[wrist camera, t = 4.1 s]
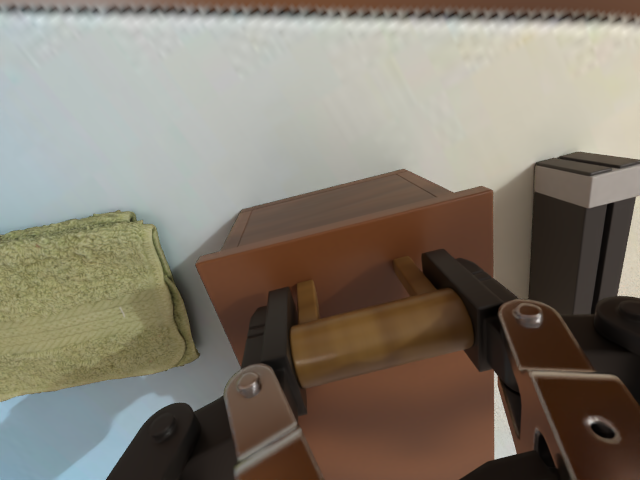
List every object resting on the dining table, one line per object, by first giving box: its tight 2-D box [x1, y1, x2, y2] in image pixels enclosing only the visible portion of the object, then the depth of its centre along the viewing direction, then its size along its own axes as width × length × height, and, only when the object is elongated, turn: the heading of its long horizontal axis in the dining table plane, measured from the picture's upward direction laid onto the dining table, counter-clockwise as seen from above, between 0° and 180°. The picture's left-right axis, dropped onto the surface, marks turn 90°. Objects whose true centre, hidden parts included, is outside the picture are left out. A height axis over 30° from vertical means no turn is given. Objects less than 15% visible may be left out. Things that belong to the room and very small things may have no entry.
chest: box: [221, 169, 453, 251], centre depth 21 cm, size 20×12×9 cm, turn 13°
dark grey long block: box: [529, 152, 640, 315], centre depth 23 cm, size 15×3×5 cm, turn 13°
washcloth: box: [0, 210, 200, 402], centre depth 21 cm, size 13×18×3 cm
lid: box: [195, 186, 494, 480], centre depth 14 cm, size 21×12×5 cm, turn 13°
